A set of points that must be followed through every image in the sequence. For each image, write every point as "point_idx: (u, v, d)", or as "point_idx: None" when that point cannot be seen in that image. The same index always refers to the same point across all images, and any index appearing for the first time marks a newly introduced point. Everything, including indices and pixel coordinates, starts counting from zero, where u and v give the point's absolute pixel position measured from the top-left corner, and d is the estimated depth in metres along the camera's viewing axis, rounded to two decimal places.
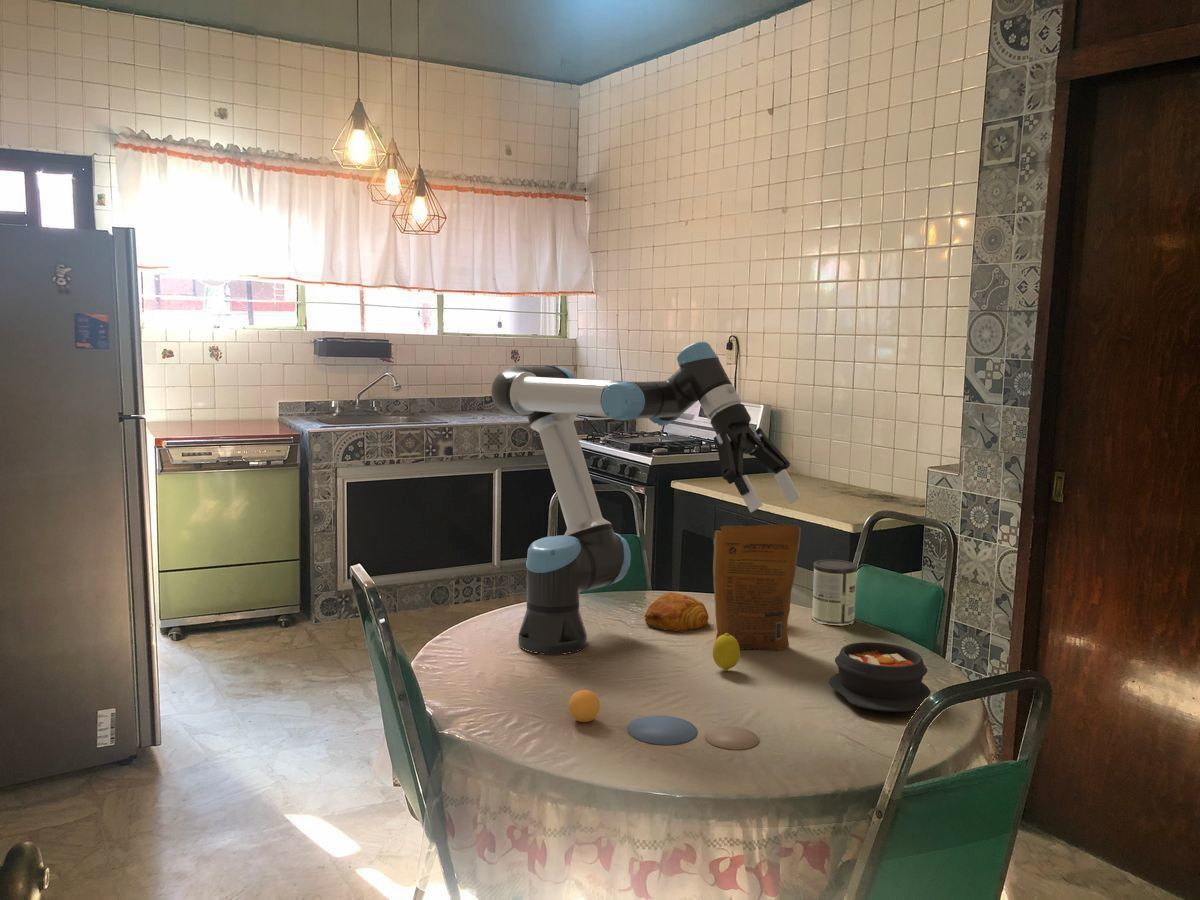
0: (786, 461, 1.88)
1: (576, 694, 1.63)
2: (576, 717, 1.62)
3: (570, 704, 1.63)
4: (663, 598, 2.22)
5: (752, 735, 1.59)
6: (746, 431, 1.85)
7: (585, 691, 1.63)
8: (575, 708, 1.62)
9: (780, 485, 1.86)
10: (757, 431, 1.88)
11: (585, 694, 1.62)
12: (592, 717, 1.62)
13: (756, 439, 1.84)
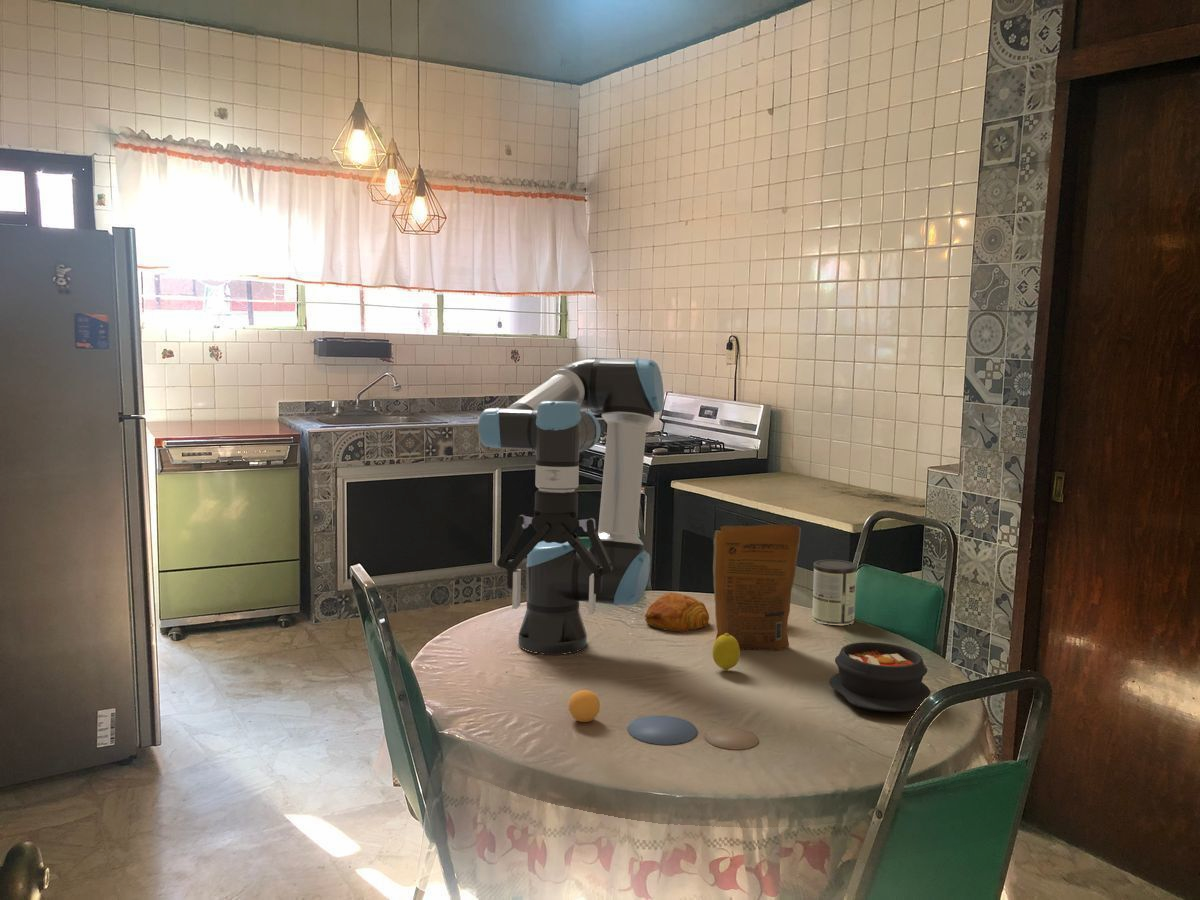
0: (606, 568, 1.60)
1: (576, 694, 1.63)
2: (576, 717, 1.62)
3: (570, 704, 1.63)
4: (663, 598, 2.22)
5: (752, 735, 1.59)
6: (562, 521, 1.61)
7: (585, 691, 1.63)
8: (575, 708, 1.62)
9: None
10: None
11: (585, 694, 1.62)
12: (592, 717, 1.62)
13: (566, 535, 1.61)
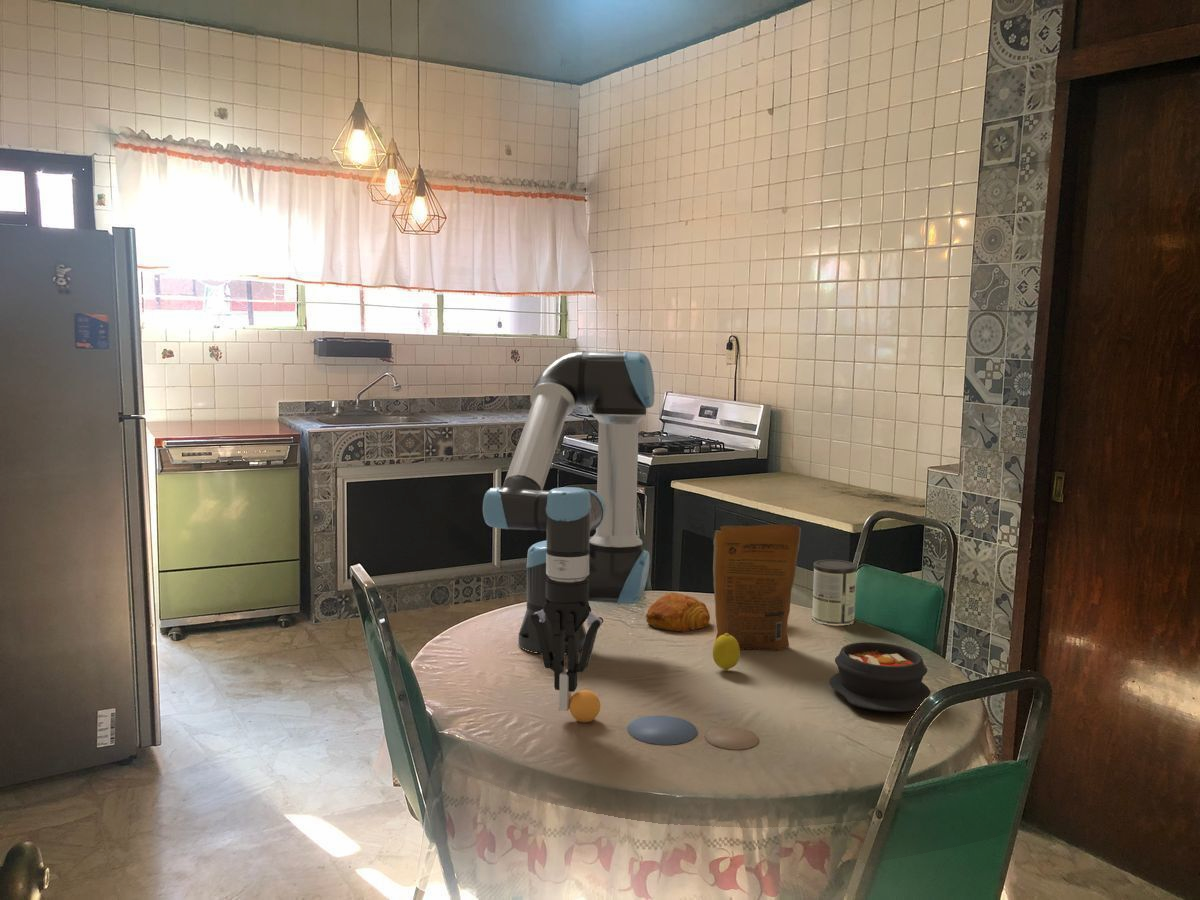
0: (580, 666, 1.61)
1: (576, 694, 1.63)
2: (576, 717, 1.62)
3: (570, 704, 1.63)
4: (664, 598, 2.22)
5: (752, 735, 1.59)
6: (576, 604, 1.61)
7: (585, 691, 1.63)
8: (576, 708, 1.62)
9: None
10: (594, 621, 1.60)
11: (586, 694, 1.62)
12: (592, 717, 1.62)
13: (570, 625, 1.61)
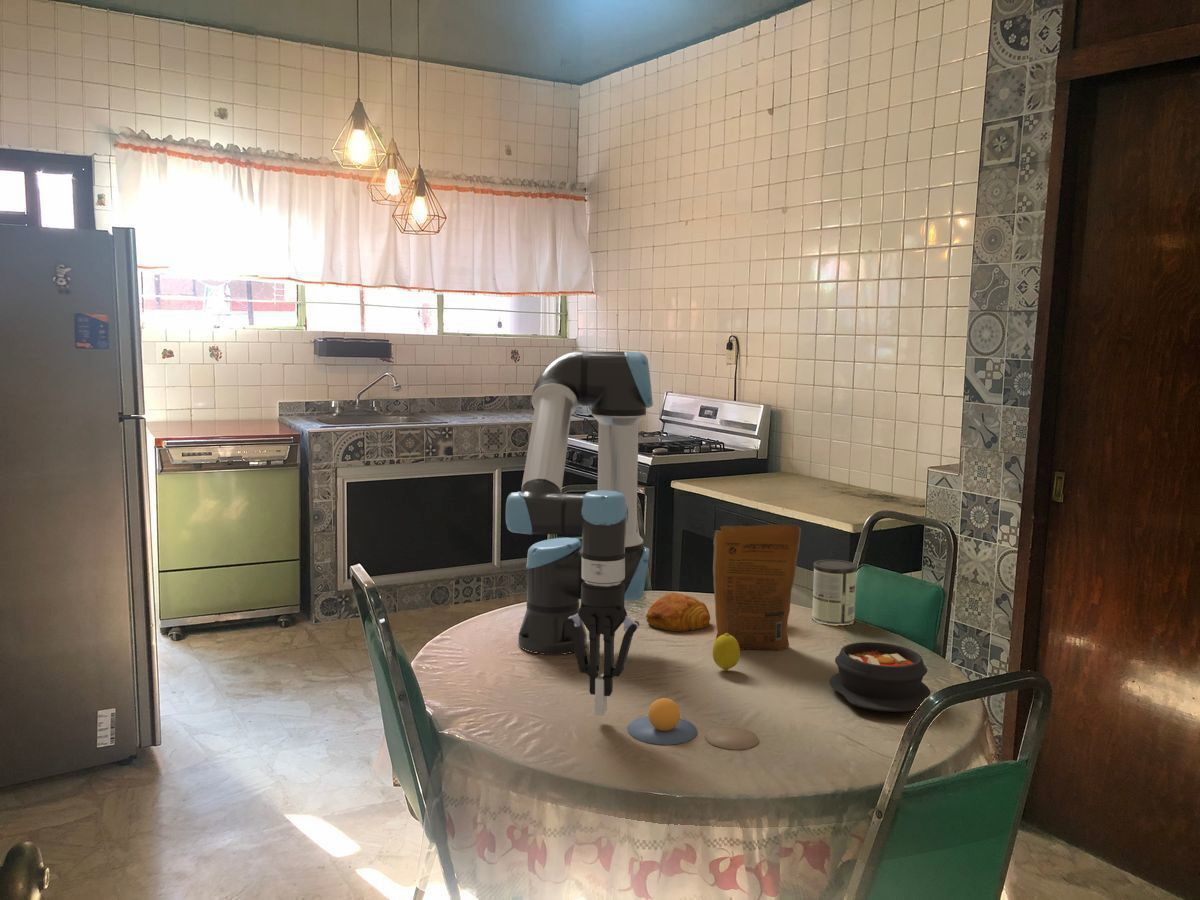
0: (617, 671, 1.60)
1: (650, 721, 1.60)
2: (671, 724, 1.58)
3: (659, 729, 1.59)
4: (665, 598, 2.22)
5: (752, 735, 1.59)
6: (612, 608, 1.60)
7: (648, 712, 1.61)
8: (660, 724, 1.58)
9: None
10: (630, 625, 1.59)
11: (649, 712, 1.60)
12: (672, 707, 1.59)
13: (606, 629, 1.60)
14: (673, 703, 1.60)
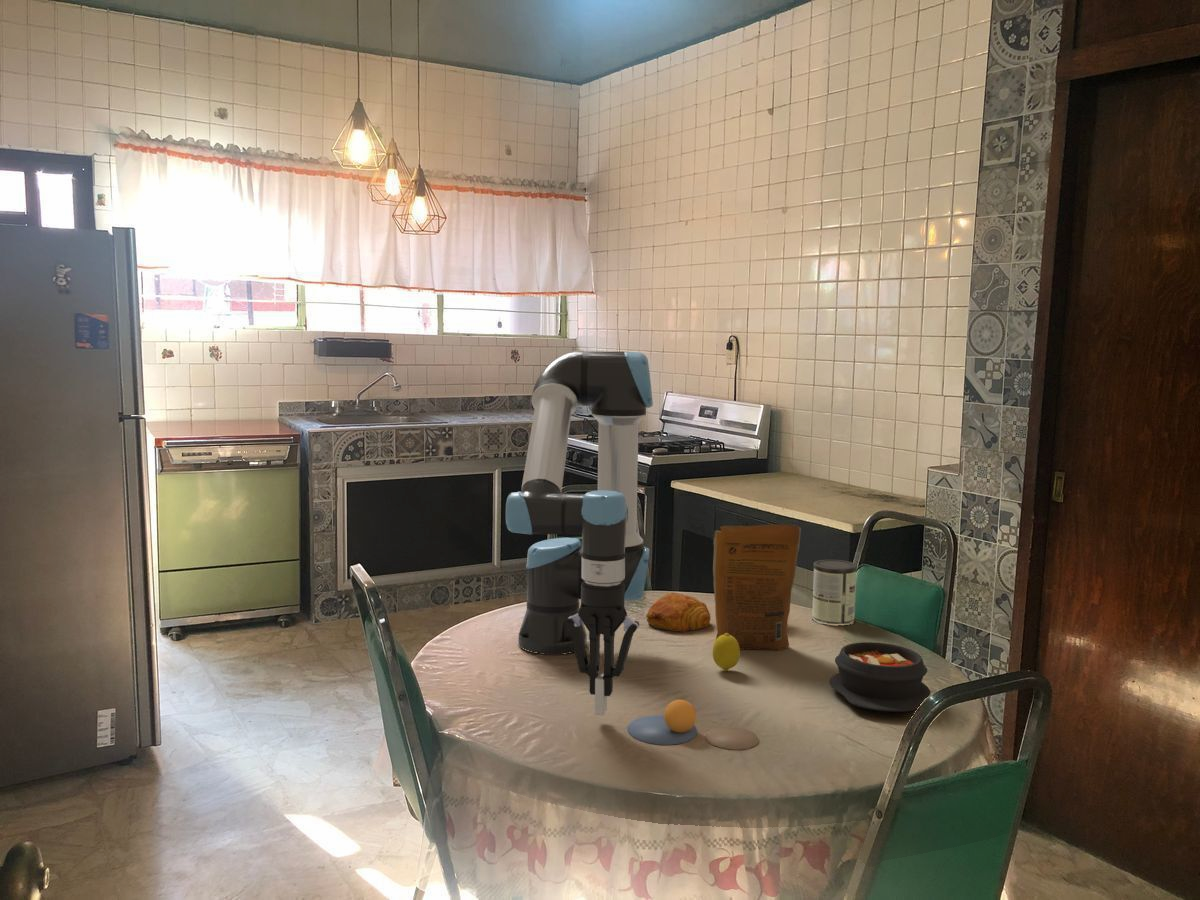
0: (617, 671, 1.60)
1: (667, 710, 1.59)
2: (679, 730, 1.58)
3: (667, 722, 1.59)
4: (665, 598, 2.22)
5: (752, 735, 1.59)
6: (612, 608, 1.60)
7: (673, 702, 1.60)
8: (673, 722, 1.58)
9: None
10: (630, 625, 1.59)
11: (675, 705, 1.59)
12: (693, 722, 1.58)
13: (606, 629, 1.60)
14: (695, 718, 1.59)
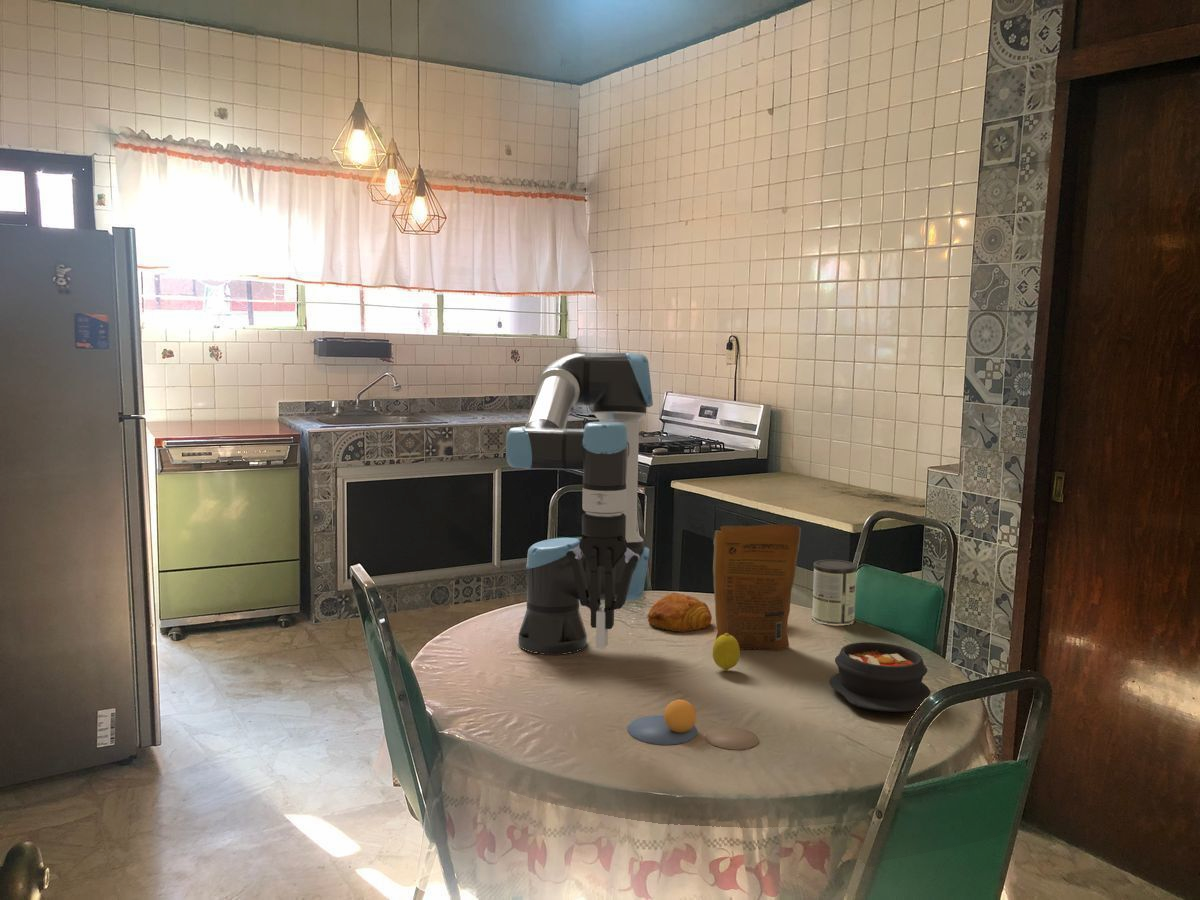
0: (618, 603, 1.59)
1: (667, 710, 1.59)
2: (679, 730, 1.58)
3: (667, 722, 1.59)
4: (666, 598, 2.22)
5: (752, 735, 1.59)
6: (614, 539, 1.58)
7: (673, 702, 1.60)
8: (673, 722, 1.58)
9: None
10: (632, 556, 1.58)
11: (675, 705, 1.59)
12: (693, 722, 1.58)
13: (608, 561, 1.58)
14: (695, 718, 1.59)
